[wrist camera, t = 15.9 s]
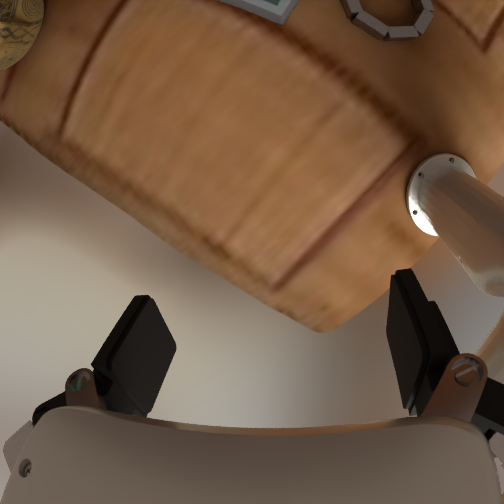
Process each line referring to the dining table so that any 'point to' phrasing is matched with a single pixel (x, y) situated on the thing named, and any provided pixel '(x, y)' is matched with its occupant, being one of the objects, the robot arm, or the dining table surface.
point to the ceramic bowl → (18, 28)
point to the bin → (267, 8)
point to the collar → (380, 30)
